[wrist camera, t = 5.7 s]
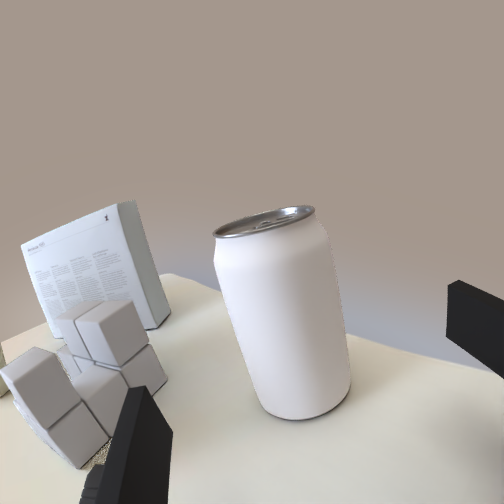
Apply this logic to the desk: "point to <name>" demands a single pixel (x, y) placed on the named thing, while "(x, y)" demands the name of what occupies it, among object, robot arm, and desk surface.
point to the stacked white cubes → (84, 377)
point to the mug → (0, 384)
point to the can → (285, 309)
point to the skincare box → (97, 265)
